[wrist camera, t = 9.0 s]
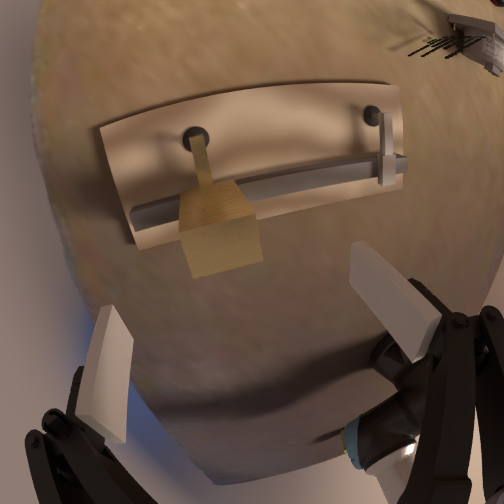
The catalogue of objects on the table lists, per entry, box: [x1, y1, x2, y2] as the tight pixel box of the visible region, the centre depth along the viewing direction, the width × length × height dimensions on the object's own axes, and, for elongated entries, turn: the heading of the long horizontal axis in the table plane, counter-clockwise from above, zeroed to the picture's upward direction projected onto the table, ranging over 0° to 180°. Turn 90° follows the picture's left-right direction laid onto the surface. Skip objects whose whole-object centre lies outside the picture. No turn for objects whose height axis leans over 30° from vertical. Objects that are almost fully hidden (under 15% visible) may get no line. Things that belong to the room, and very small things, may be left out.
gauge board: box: [100, 83, 408, 250], centre depth 26 cm, size 14×34×4 cm, turn 99°
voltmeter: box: [408, 14, 504, 77], centre depth 20 cm, size 26×11×10 cm, turn 127°
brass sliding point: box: [178, 134, 263, 279], centre depth 21 cm, size 8×5×11 cm, turn 9°
